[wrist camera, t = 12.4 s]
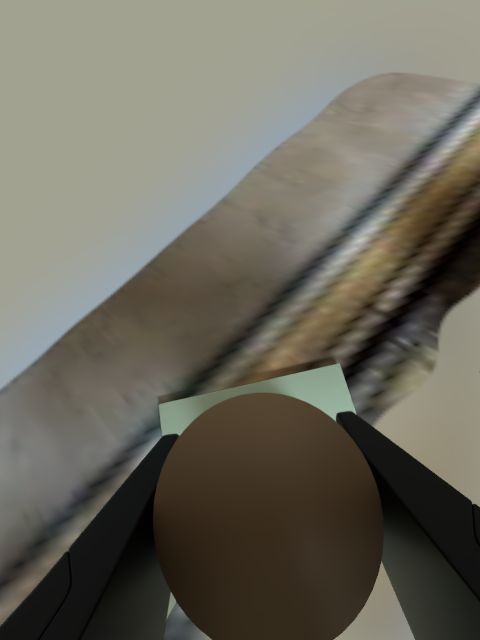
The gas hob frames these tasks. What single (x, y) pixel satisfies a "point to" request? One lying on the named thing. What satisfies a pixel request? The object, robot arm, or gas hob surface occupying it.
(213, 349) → the gas hob surface
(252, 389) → the tile
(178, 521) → the brown cylinder
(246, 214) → the gas hob surface
